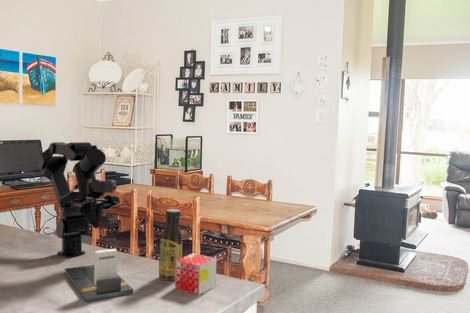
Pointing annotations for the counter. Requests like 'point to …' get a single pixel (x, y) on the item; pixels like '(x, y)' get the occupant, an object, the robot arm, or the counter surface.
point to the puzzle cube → (195, 273)
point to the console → (102, 289)
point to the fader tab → (105, 264)
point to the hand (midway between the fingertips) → (96, 227)
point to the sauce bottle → (170, 246)
